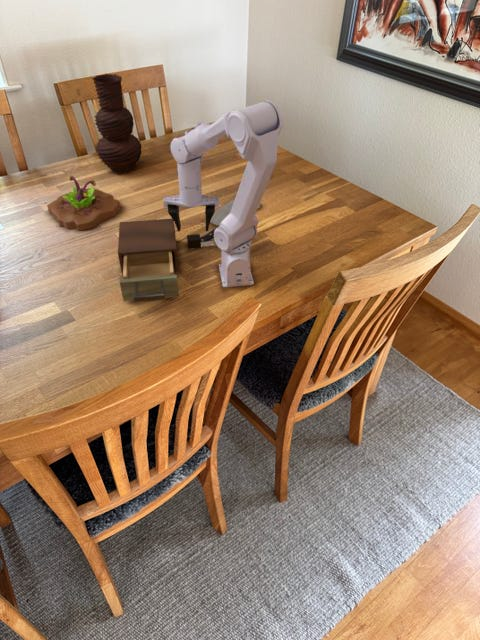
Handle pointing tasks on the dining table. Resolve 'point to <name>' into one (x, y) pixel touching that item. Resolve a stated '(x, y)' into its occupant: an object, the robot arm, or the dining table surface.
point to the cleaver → (219, 218)
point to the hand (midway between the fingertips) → (193, 229)
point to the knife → (198, 242)
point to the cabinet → (147, 239)
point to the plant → (83, 207)
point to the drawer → (148, 277)
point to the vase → (115, 126)
